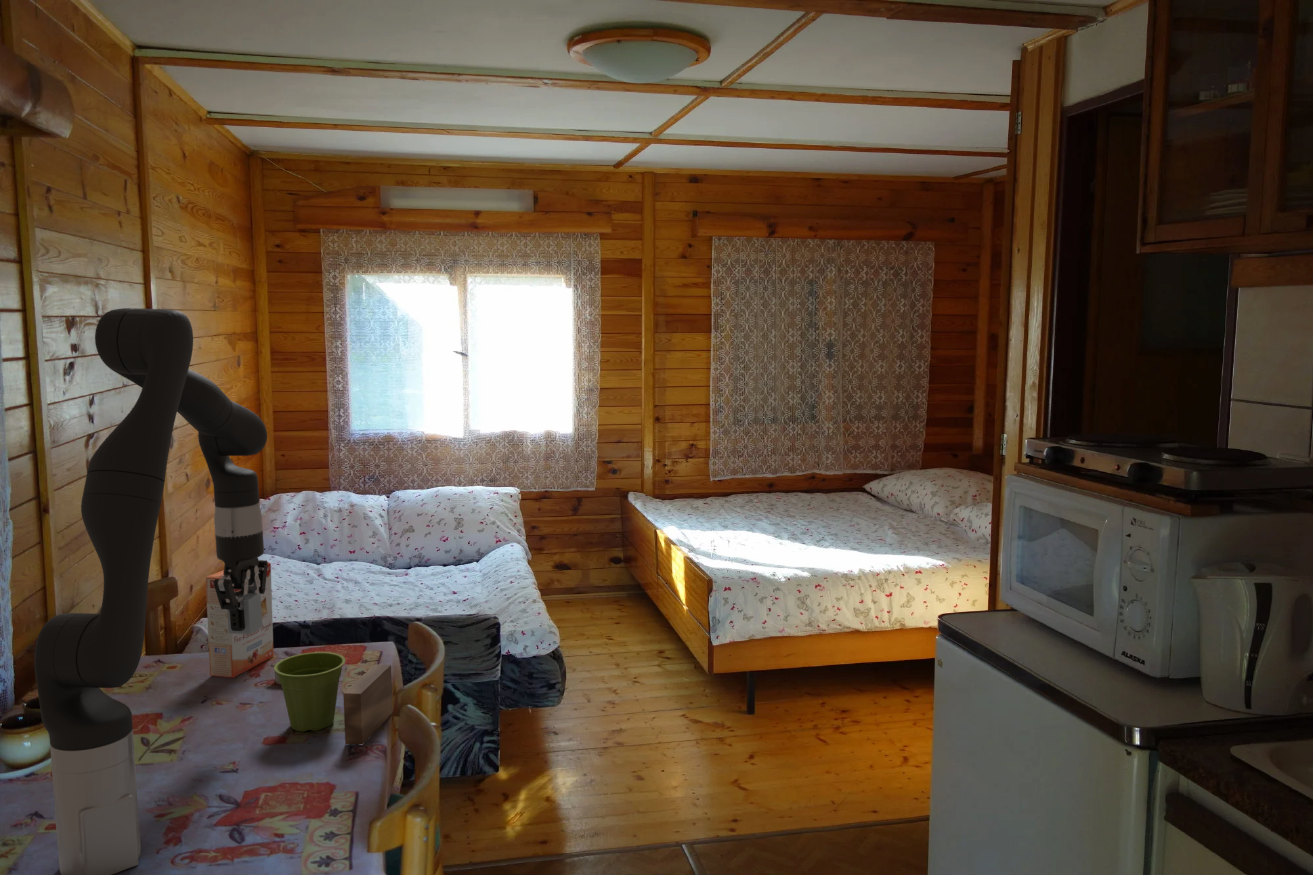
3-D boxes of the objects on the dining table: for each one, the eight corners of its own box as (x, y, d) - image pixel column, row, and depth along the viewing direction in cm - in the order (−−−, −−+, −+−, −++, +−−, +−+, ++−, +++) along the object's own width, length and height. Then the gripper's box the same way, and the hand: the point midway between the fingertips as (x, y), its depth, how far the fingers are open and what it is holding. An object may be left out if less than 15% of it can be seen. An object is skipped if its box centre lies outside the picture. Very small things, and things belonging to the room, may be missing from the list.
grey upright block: (250, 634, 163) (248, 600, 162) (228, 633, 163) (226, 599, 163) (262, 626, 167) (260, 593, 166) (240, 625, 167) (238, 592, 167)
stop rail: (345, 744, 159) (343, 693, 158) (376, 711, 173) (375, 664, 172) (362, 745, 159) (360, 693, 158) (392, 712, 173) (391, 664, 172)
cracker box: (235, 679, 190) (229, 577, 188) (208, 677, 191) (202, 576, 189) (276, 656, 204) (271, 561, 201) (251, 654, 205) (246, 559, 203)
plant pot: (262, 735, 163) (259, 672, 162) (300, 709, 175) (297, 650, 174) (326, 740, 161) (323, 676, 160) (359, 713, 173) (357, 653, 171)
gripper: (237, 540, 155) (244, 640, 158) (280, 521, 170) (285, 613, 172) (194, 539, 156) (201, 639, 159) (240, 520, 170) (246, 612, 173)
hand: (245, 625), depth 165 cm, fingers closed on grey upright block, 4 cm apart
